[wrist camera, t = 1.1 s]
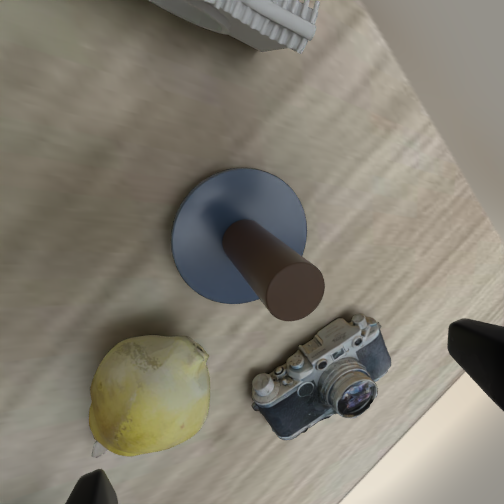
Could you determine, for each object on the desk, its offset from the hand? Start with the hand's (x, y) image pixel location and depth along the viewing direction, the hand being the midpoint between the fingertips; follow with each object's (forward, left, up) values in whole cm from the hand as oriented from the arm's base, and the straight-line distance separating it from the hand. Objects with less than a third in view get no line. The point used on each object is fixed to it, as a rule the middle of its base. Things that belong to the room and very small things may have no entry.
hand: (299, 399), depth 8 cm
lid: (0, -2, -11) cm, 12 cm away
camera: (-11, -6, -12) cm, 18 cm away
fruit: (-7, +5, -12) cm, 15 cm away
